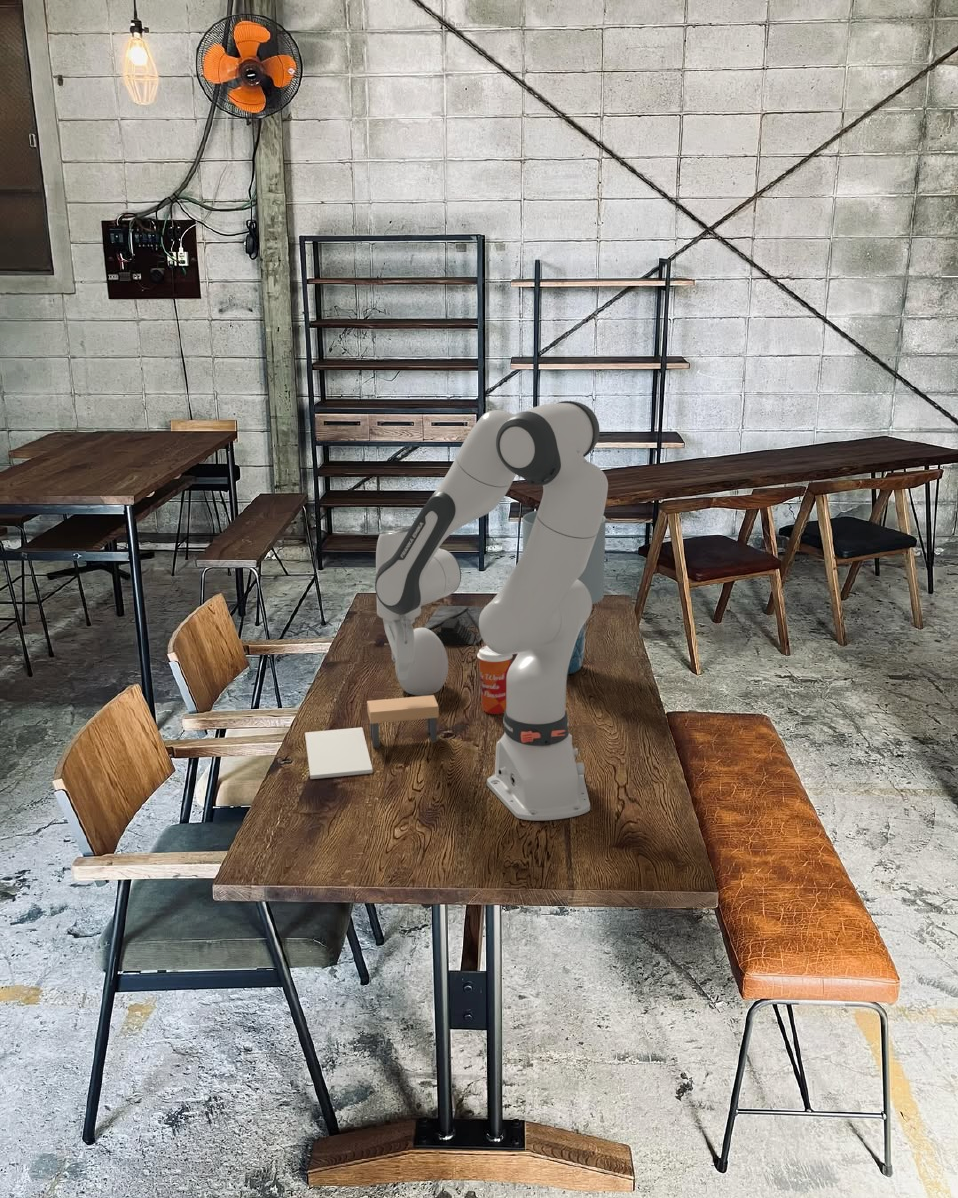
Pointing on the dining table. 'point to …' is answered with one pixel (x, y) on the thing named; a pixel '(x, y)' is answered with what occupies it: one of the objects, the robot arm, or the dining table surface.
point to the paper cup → (493, 679)
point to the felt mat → (337, 753)
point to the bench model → (403, 713)
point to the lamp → (589, 578)
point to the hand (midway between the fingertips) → (399, 669)
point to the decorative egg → (426, 665)
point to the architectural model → (456, 624)
